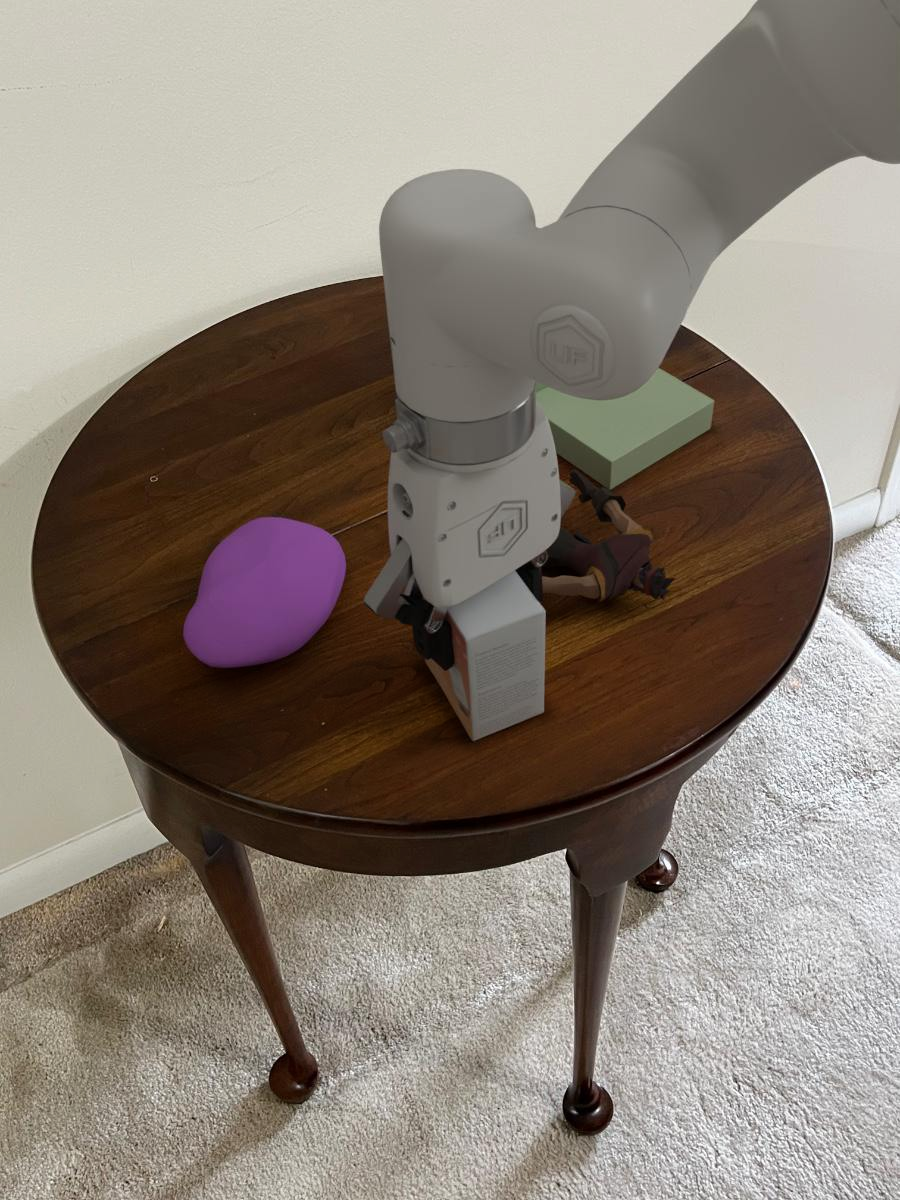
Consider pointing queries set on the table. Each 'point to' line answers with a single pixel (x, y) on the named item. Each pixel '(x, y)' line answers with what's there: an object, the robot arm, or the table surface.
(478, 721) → the small box
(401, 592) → the robot arm
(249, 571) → the blob
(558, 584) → the figurine
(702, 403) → the green l-shaped step
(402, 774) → the table surface
